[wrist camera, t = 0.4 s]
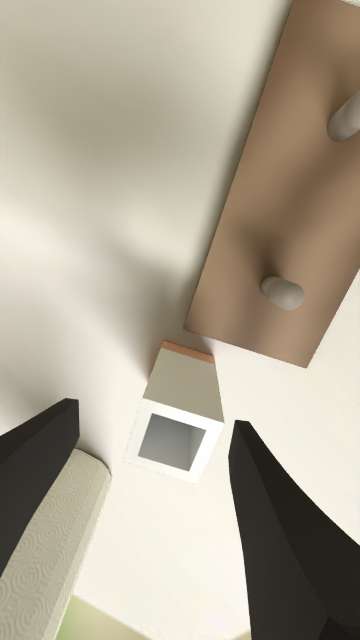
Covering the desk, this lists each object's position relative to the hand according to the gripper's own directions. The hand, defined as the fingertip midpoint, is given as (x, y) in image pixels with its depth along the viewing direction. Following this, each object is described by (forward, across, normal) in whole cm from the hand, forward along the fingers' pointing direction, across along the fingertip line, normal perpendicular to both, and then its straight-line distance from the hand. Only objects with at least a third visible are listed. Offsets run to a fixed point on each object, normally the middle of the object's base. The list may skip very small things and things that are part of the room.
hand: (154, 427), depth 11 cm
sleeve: (+10, -1, +2) cm, 10 cm away
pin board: (+10, -8, -11) cm, 16 cm away
